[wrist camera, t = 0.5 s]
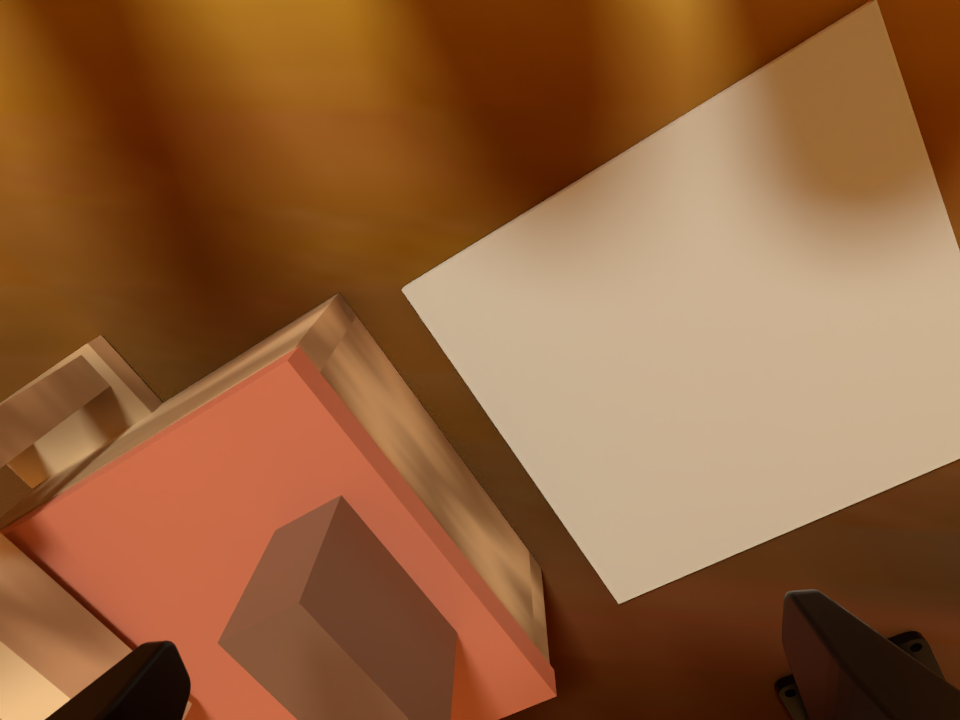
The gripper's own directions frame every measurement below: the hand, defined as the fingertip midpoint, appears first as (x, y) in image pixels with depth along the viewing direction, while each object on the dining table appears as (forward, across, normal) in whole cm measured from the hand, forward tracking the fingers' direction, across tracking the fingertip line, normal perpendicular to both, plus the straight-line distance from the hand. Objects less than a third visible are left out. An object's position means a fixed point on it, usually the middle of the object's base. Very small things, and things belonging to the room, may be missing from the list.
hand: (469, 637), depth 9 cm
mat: (+14, -8, +2) cm, 16 cm away
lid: (+9, +8, +7) cm, 14 cm away
